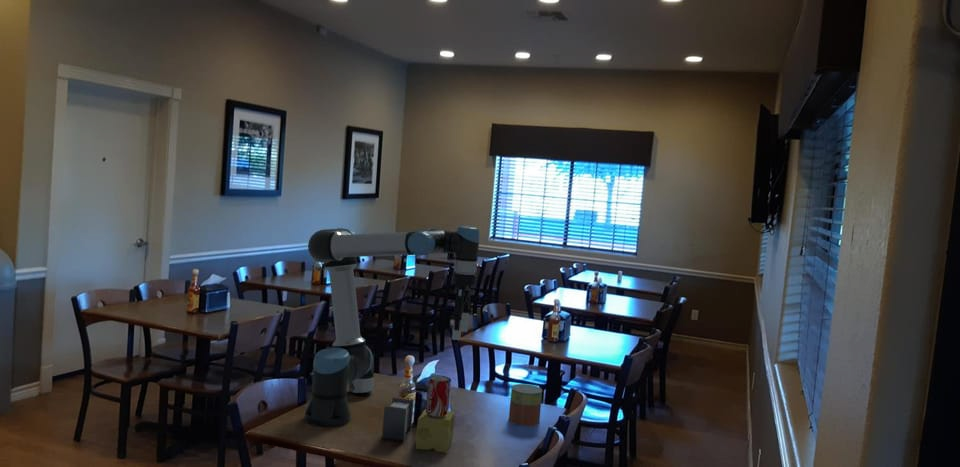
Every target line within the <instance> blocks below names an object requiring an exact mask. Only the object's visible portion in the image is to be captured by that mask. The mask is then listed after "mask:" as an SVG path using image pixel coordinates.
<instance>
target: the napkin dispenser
mask: <svg viewBox="0 0 960 467" xmlns="http://www.w3.org/2000/svg"><path fill="white" fill-rule="evenodd" d="M391 398H392V401H391V405H384V407H383V408H384V409H383V410H384V411H383V424H382V436H381V441H387V442H393V443H394V442H395V443H401V444H404V443H405V441H406V440H407V438H408V437H409V436H410V434H411V433H412V425H413V424H412V423H413V411H414V399H410V398H403V397H395V396H393V397H391Z"/></svg>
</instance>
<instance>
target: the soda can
mask: <svg viewBox="0 0 960 467" xmlns="http://www.w3.org/2000/svg"><path fill="white" fill-rule="evenodd" d="M450 383H451V382H450V381H449V377H448V376H446V375H440V374H434V375H431V376H430V379H429V380H428V383H427V388H426V389H427V390H426V401H425V402H426V403H425V409H426V413H427V414H429V416H432V417H443V416H444V415H446V414H447V412H449V411H448V410H449V402H450V389H451V387H450V386H451V384H450Z"/></svg>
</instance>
